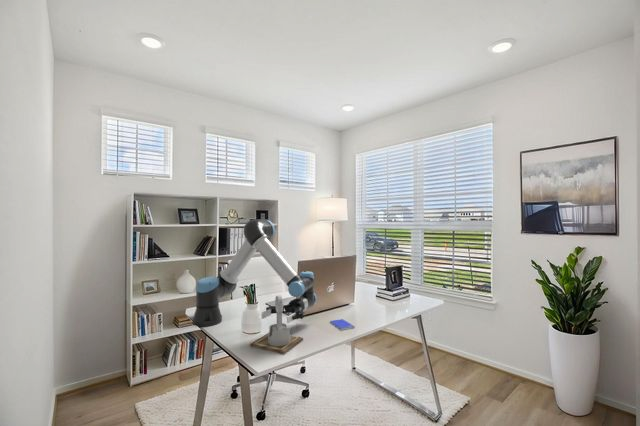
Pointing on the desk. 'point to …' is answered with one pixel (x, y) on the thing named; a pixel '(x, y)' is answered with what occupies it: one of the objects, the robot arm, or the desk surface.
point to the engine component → (279, 327)
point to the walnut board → (264, 344)
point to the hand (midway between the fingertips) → (274, 317)
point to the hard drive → (342, 324)
